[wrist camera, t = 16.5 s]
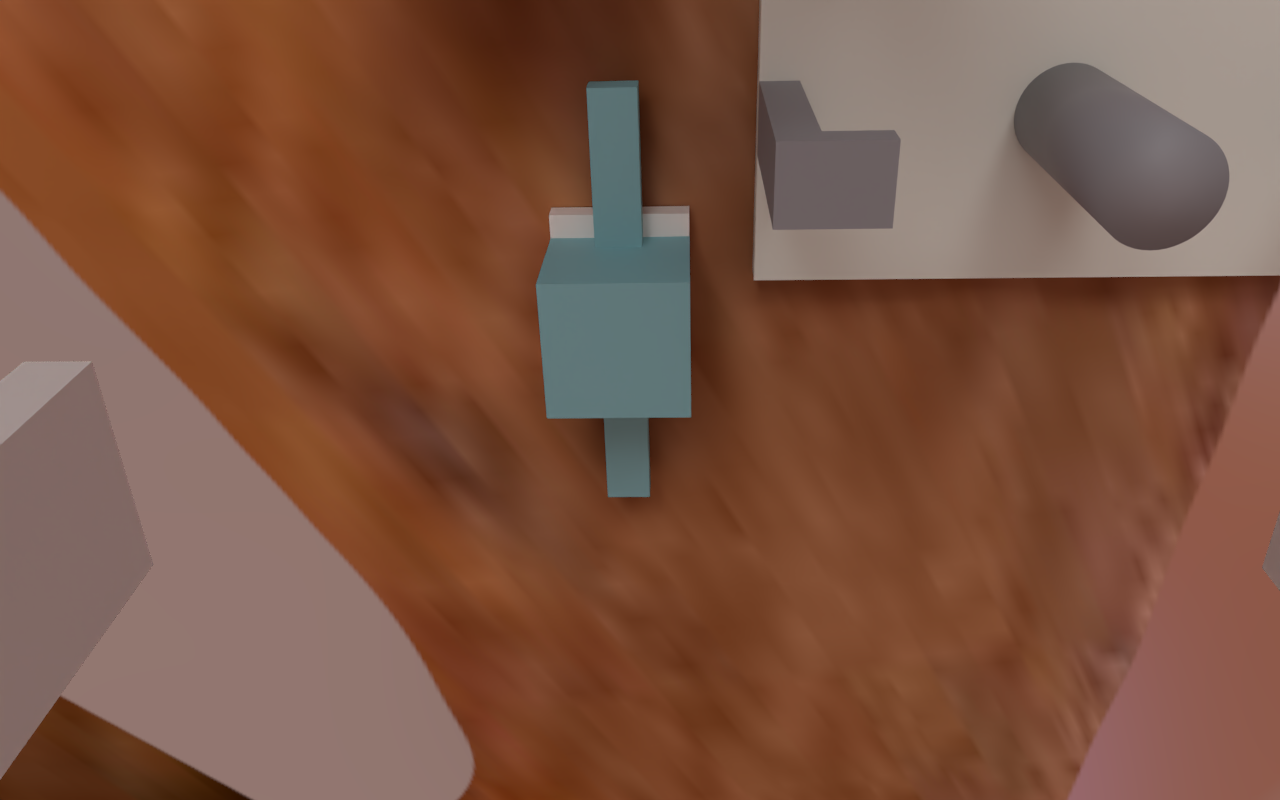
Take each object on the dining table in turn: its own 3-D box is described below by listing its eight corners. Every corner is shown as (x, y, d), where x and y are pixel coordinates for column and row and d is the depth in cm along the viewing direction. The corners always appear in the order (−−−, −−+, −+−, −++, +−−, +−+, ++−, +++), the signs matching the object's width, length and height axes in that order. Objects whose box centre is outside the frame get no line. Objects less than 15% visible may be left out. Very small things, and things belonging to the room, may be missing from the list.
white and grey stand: (761, -73, 41) (785, -38, 31) (1418, -89, 40) (1658, -58, 30) (752, 270, 48) (769, 387, 38) (1315, 264, 47) (1483, 384, 37)
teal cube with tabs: (568, 483, 52) (557, 547, 48) (539, 82, 43) (521, 114, 39) (691, 482, 52) (692, 547, 47) (688, 79, 43) (688, 110, 38)
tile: (551, 207, 47) (548, 215, 46) (689, 205, 46) (689, 213, 45) (562, 371, 50) (560, 381, 50) (689, 370, 50) (690, 380, 49)
